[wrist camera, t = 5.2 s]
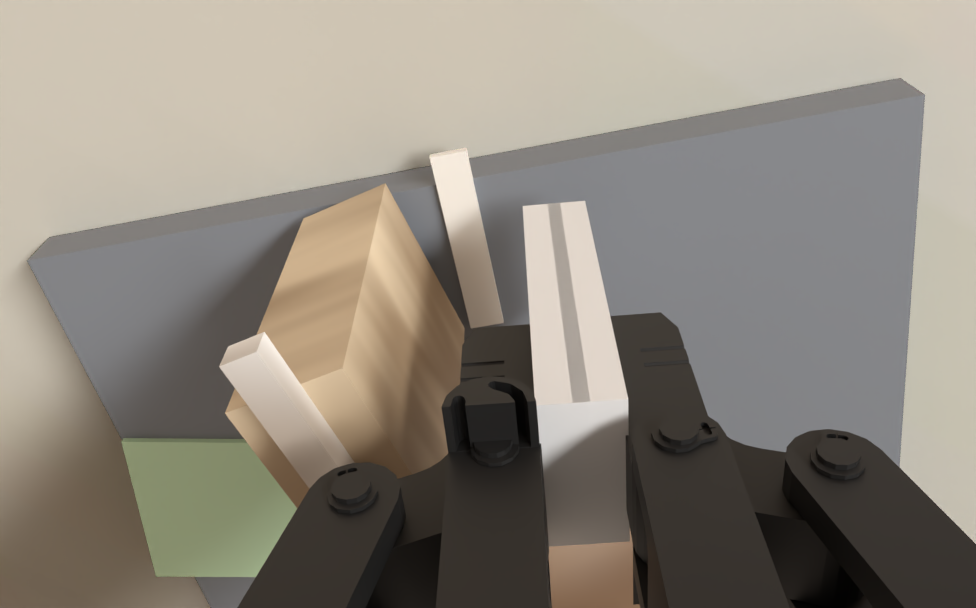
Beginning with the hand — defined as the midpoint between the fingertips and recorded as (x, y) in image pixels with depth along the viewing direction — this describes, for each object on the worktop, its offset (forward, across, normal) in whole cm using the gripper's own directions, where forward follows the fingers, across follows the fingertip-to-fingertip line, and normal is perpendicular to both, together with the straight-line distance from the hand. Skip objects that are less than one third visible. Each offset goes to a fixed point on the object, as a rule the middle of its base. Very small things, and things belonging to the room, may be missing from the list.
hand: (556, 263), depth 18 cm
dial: (+1, +2, +5) cm, 6 cm away
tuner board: (+3, +1, +9) cm, 9 cm away
